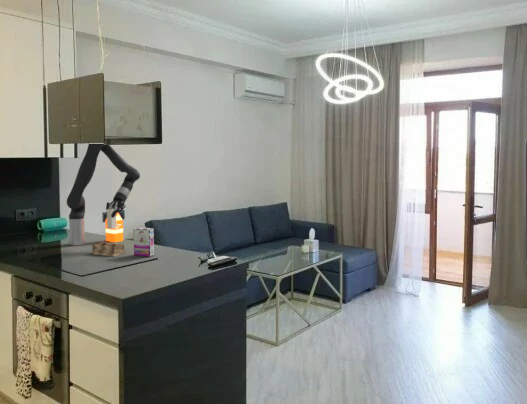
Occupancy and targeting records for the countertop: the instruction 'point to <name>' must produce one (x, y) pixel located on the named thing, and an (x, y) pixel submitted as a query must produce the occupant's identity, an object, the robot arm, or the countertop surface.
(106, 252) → the brown woven basket
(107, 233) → the orange juice
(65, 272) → the countertop surface
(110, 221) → the clay bar
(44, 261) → the countertop surface
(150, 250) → the candy bar box
